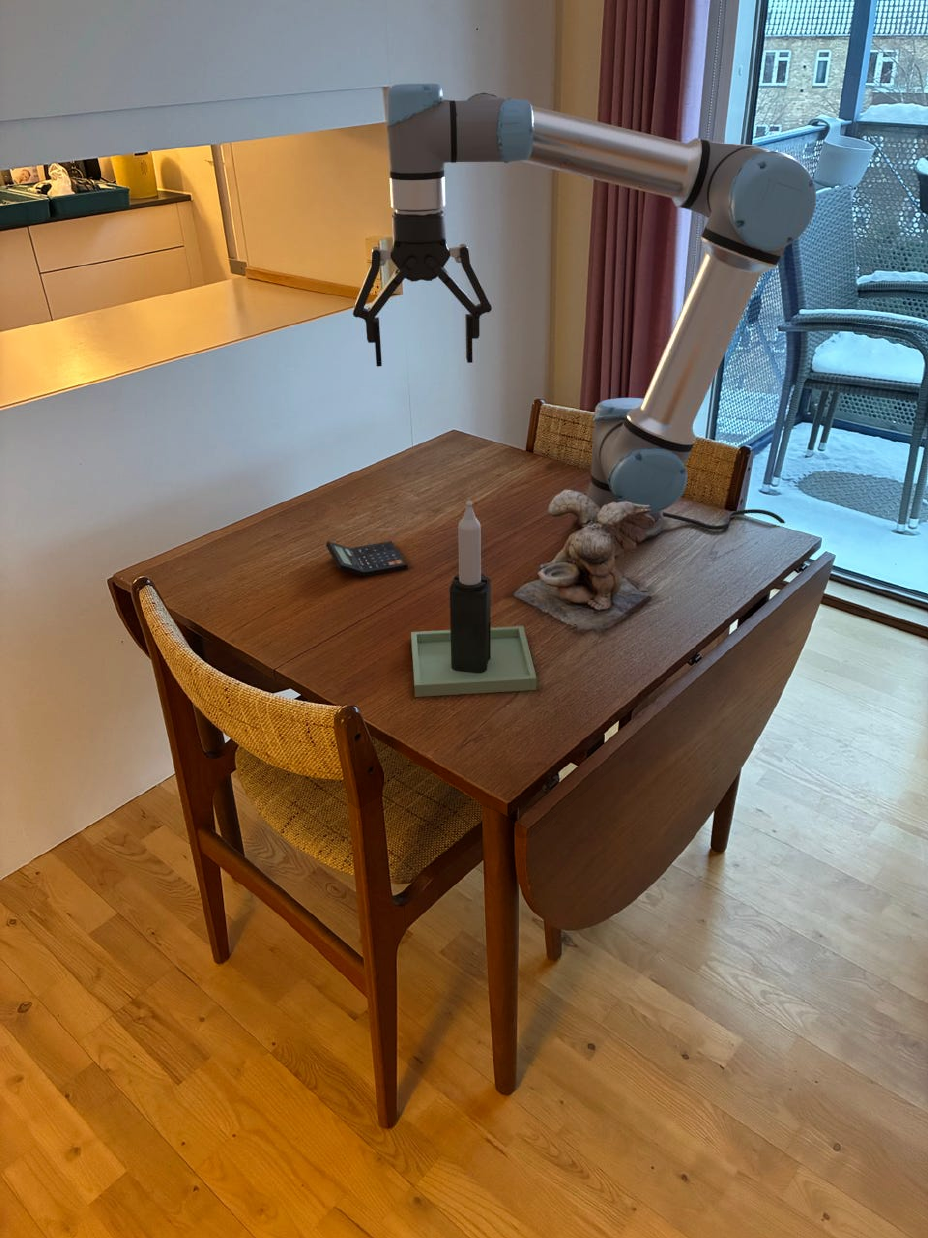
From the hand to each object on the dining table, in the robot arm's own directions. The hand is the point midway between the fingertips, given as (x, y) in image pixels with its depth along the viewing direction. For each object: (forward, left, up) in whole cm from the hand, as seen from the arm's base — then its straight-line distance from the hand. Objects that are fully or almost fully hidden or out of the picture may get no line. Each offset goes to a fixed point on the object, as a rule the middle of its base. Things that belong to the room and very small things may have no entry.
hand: (424, 362), depth 145 cm
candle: (-4, +31, -34) cm, 46 cm away
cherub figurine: (-24, +13, -35) cm, 44 cm away
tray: (-4, +31, -35) cm, 47 cm away
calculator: (+11, -2, -35) cm, 37 cm away
